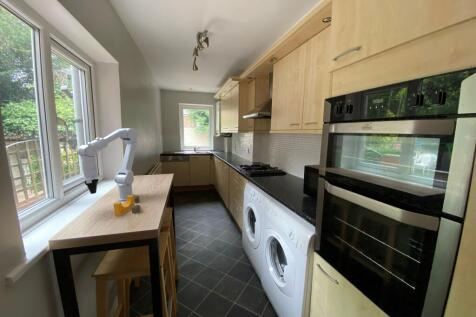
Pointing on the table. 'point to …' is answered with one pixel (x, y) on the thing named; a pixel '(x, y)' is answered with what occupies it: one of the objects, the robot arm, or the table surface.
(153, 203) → the table surface
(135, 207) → the post
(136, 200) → the post
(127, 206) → the pipe clamp
